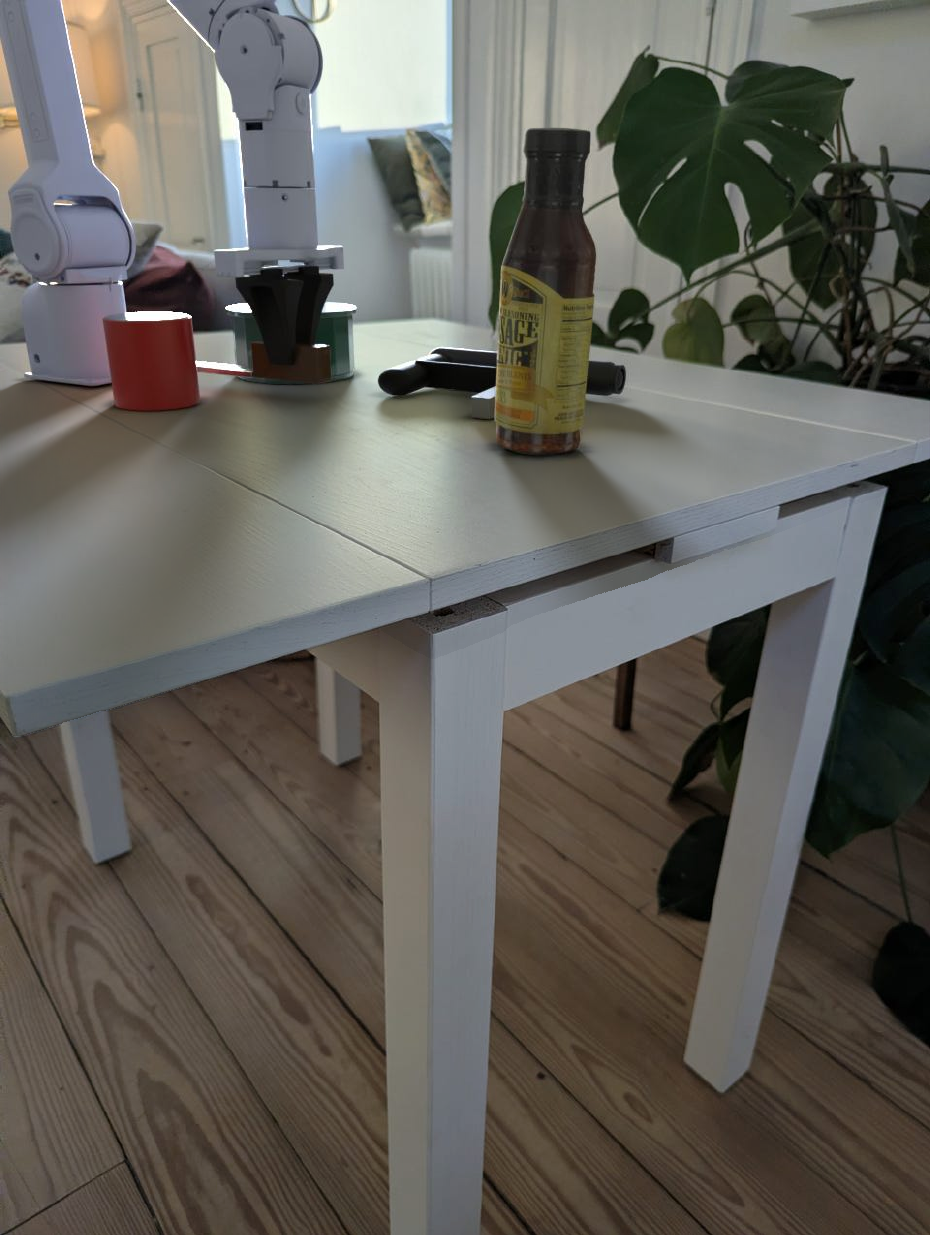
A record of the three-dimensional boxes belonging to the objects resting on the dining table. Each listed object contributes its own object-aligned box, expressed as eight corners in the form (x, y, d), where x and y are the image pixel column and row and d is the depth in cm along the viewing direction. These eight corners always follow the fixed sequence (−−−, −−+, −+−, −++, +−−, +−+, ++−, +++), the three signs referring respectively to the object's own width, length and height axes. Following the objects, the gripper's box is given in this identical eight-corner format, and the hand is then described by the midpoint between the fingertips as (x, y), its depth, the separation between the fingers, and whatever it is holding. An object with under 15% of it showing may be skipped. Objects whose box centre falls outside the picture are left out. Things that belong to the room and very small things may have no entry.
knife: (174, 369, 83) (170, 335, 82) (192, 366, 85) (188, 332, 84) (316, 384, 77) (314, 347, 75) (333, 380, 78) (331, 344, 77)
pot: (212, 377, 90) (206, 314, 87) (285, 362, 99) (281, 304, 97) (308, 388, 85) (304, 321, 82) (375, 371, 94) (373, 310, 92)
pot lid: (199, 320, 87) (196, 292, 86) (281, 310, 98) (279, 284, 96) (305, 328, 82) (304, 298, 81) (380, 316, 92) (379, 289, 91)
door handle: (557, 396, 69) (632, 357, 81) (344, 373, 78) (441, 341, 90) (556, 439, 70) (630, 394, 83) (348, 411, 79) (443, 375, 92)
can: (96, 405, 76) (82, 317, 73) (157, 392, 82) (147, 310, 79) (158, 413, 73) (147, 322, 71) (217, 400, 79) (209, 314, 76)
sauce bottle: (480, 441, 66) (486, 130, 58) (558, 435, 68) (574, 134, 60) (517, 462, 60) (528, 122, 52) (600, 455, 62) (624, 127, 54)
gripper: (260, 185, 65) (275, 378, 71) (370, 190, 77) (375, 355, 83) (186, 186, 68) (205, 371, 74) (302, 191, 80) (312, 350, 86)
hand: (290, 362), depth 78 cm, fingers closed on knife, 2 cm apart
